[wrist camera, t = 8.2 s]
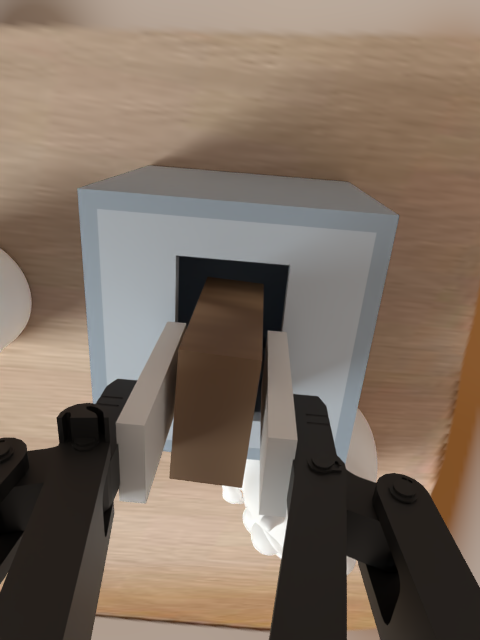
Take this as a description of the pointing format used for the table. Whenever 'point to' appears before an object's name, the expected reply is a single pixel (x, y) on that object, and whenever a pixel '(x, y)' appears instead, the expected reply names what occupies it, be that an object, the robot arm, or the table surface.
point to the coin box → (237, 272)
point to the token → (218, 383)
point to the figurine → (272, 528)
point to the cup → (12, 300)
